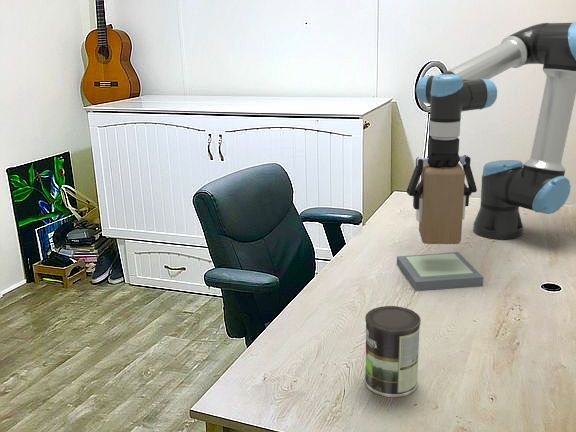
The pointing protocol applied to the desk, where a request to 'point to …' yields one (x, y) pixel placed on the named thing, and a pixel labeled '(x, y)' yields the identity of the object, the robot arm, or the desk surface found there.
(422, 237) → the wooden block
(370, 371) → the coffee can
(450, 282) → the plinth
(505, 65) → the robot arm
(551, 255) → the desk surface
